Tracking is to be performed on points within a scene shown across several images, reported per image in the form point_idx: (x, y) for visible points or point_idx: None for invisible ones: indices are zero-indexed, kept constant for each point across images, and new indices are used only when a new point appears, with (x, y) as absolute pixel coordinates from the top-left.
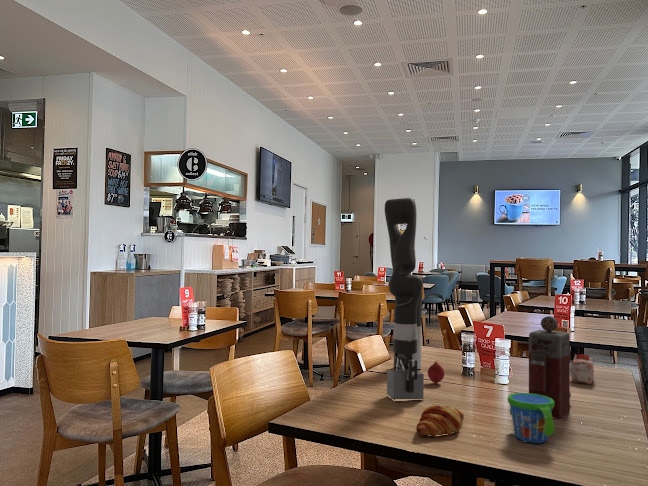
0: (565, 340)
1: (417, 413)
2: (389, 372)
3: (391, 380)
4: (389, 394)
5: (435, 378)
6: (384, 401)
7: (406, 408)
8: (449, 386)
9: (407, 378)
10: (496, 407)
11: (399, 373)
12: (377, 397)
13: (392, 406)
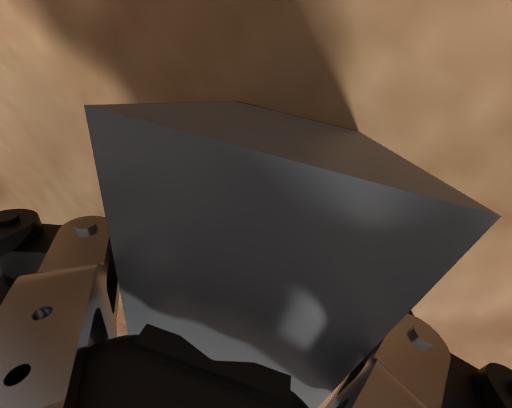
0: None
1: (55, 108)
2: (332, 168)
3: (247, 124)
4: (309, 121)
5: None
6: (271, 46)
7: (123, 103)
8: (330, 397)
9: (73, 225)
10: (123, 334)
11: (183, 250)
12: (382, 46)
13: (163, 39)
